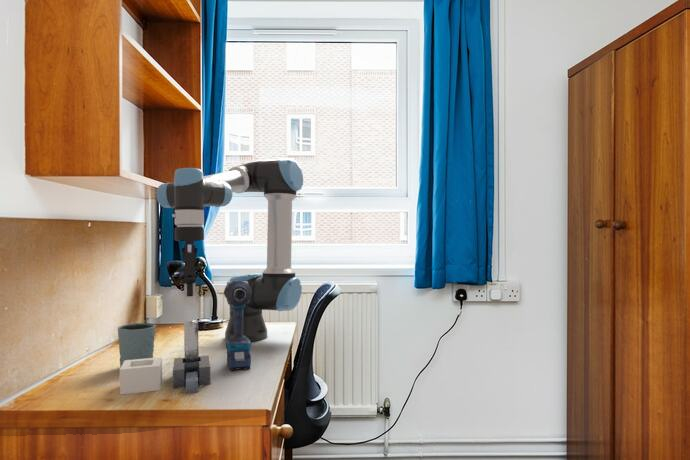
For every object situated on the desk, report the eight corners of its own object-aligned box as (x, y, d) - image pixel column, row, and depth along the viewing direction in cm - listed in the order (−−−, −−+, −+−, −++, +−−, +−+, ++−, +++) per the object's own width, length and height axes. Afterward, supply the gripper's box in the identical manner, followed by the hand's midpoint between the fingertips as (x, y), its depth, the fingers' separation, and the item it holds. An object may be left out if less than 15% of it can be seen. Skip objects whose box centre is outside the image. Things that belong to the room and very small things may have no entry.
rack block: (125, 383, 126) (124, 360, 126) (162, 379, 129) (161, 357, 129) (120, 394, 117) (119, 369, 117) (160, 390, 120) (159, 365, 120)
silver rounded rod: (185, 375, 132) (184, 320, 132) (198, 374, 133) (197, 319, 133) (184, 379, 129) (183, 322, 129) (199, 377, 130) (198, 321, 130)
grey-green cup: (123, 364, 145) (122, 323, 145) (158, 361, 147) (158, 321, 147) (114, 373, 135) (113, 330, 135) (153, 370, 137) (152, 328, 137)
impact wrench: (226, 380, 127) (224, 284, 127) (224, 358, 149) (222, 276, 149) (257, 377, 129) (255, 283, 129) (250, 356, 151) (248, 275, 151)
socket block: (174, 374, 133) (174, 358, 133) (209, 371, 136) (208, 355, 136) (173, 388, 121) (172, 370, 121) (210, 384, 124) (210, 366, 124)
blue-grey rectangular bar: (186, 383, 125) (186, 372, 125) (197, 382, 126) (197, 371, 126) (185, 393, 117) (185, 381, 117) (198, 392, 118) (197, 380, 118)
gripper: (175, 227, 142) (176, 300, 142) (172, 225, 118) (173, 313, 118) (202, 227, 144) (203, 299, 144) (205, 225, 120) (205, 311, 120)
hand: (190, 305), depth 131 cm, fingers open, 13 cm apart
